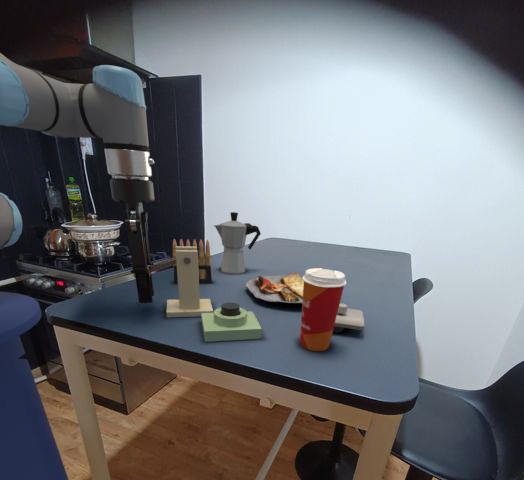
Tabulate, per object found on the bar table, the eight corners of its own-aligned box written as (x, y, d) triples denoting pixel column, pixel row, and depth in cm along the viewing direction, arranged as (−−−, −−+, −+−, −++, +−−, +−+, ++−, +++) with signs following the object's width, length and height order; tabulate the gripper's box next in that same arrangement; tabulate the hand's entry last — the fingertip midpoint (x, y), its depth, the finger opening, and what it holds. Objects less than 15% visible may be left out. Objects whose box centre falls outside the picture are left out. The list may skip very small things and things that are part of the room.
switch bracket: (166, 317, 69) (160, 252, 62) (167, 304, 75) (162, 244, 69) (213, 315, 71) (212, 253, 64) (209, 303, 78) (208, 245, 71)
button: (222, 317, 61) (222, 309, 60) (220, 310, 64) (220, 302, 63) (240, 317, 62) (241, 308, 61) (237, 310, 65) (238, 302, 64)
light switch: (360, 320, 73) (364, 300, 71) (362, 339, 65) (367, 316, 63) (317, 315, 75) (320, 294, 73) (314, 332, 67) (317, 309, 64)
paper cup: (300, 332, 66) (309, 265, 59) (337, 340, 64) (350, 271, 57) (289, 348, 59) (297, 274, 53) (330, 358, 57) (344, 282, 50)
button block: (204, 341, 60) (204, 322, 58) (201, 322, 67) (200, 304, 65) (261, 338, 62) (262, 320, 60) (252, 320, 70) (252, 303, 68)
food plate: (237, 282, 94) (237, 271, 92) (308, 280, 101) (309, 269, 99) (263, 314, 73) (264, 300, 72) (350, 308, 80) (352, 295, 79)
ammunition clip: (211, 281, 94) (210, 239, 88) (211, 283, 92) (211, 240, 87) (174, 281, 91) (170, 238, 86) (174, 283, 90) (170, 239, 84)
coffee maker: (213, 273, 101) (212, 212, 93) (214, 266, 109) (214, 209, 101) (259, 275, 103) (262, 215, 94) (257, 268, 111) (260, 212, 102)
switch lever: (136, 285, 66) (128, 269, 64) (138, 280, 69) (130, 264, 67) (196, 265, 67) (190, 248, 65) (195, 261, 70) (189, 245, 68)
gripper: (149, 180, 52) (163, 312, 63) (155, 178, 66) (165, 286, 78) (100, 177, 51) (123, 313, 62) (116, 176, 65) (133, 287, 76)
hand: (146, 298), depth 70 cm, fingers closed on switch lever, 4 cm apart
